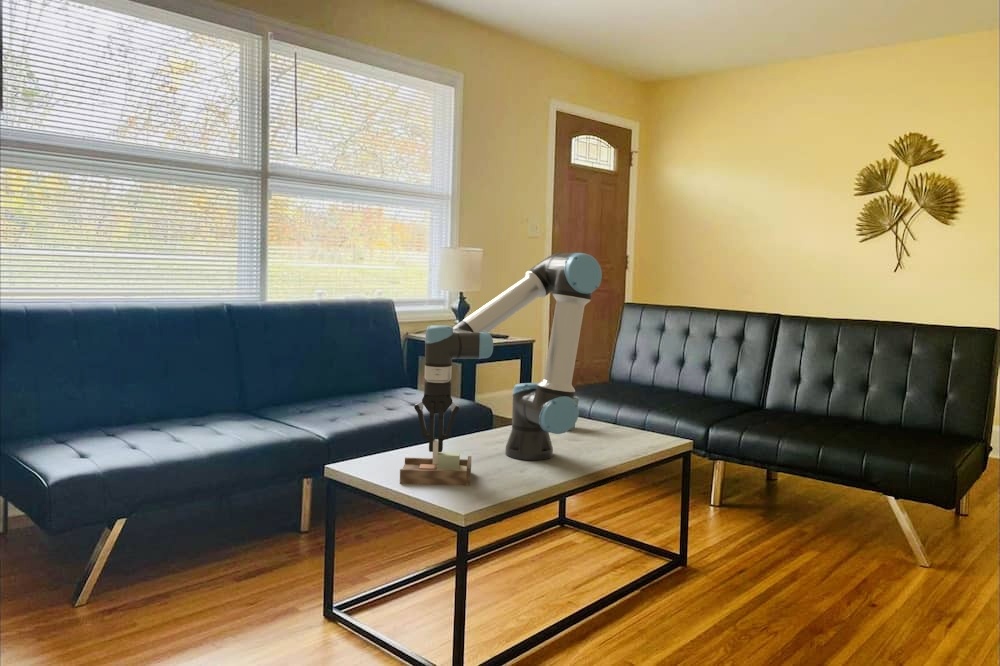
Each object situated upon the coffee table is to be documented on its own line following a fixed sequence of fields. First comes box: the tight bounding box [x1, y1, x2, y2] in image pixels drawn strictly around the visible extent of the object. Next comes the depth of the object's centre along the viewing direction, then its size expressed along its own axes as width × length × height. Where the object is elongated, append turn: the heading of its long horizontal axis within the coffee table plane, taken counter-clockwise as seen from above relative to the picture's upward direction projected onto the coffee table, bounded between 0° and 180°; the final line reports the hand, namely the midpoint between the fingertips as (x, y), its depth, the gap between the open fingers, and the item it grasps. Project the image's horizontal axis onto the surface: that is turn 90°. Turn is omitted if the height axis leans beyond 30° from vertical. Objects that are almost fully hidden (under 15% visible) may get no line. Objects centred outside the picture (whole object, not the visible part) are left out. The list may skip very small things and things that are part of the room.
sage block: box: [437, 451, 461, 470], centre depth 218 cm, size 6×4×4 cm
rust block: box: [419, 464, 435, 470], centre depth 213 cm, size 4×4×4 cm
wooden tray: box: [399, 455, 472, 487], centre depth 215 cm, size 19×13×5 cm
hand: (435, 462), depth 218 cm, fingers closed
